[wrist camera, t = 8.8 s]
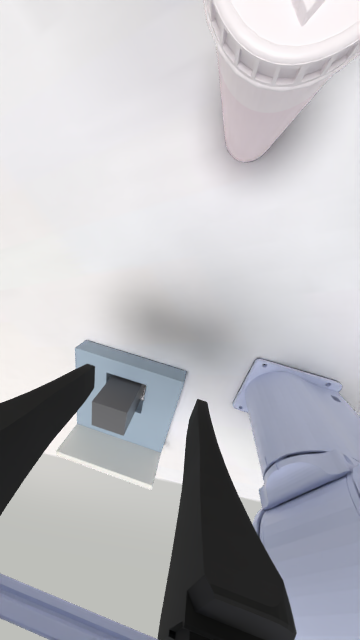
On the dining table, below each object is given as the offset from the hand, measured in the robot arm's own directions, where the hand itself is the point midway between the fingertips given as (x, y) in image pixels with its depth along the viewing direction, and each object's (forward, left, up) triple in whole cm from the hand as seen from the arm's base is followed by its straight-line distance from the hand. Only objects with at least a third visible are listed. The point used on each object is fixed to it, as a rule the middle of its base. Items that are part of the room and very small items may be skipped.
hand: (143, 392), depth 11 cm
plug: (+4, +10, -10) cm, 14 cm away
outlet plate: (+4, +13, -9) cm, 17 cm away
